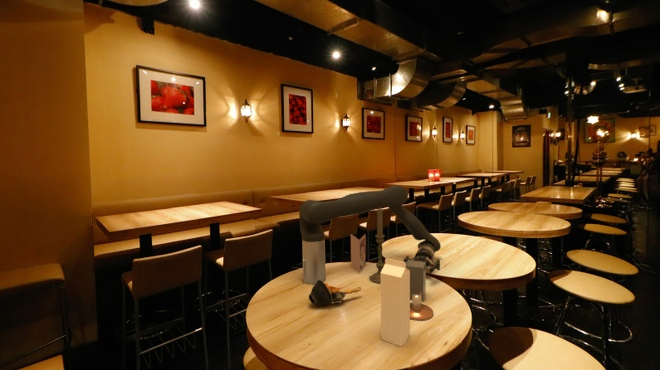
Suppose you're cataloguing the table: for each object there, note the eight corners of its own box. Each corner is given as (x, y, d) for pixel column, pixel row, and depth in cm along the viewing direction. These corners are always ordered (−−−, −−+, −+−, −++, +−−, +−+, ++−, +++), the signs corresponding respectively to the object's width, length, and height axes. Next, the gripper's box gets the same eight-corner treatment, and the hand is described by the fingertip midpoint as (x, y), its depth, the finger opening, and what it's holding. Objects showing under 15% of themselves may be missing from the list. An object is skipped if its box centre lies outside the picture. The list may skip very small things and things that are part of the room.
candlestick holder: (394, 277, 125) (394, 206, 122) (386, 285, 117) (386, 210, 115) (374, 273, 130) (374, 205, 127) (365, 281, 122) (364, 208, 120)
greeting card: (361, 273, 130) (361, 240, 129) (345, 272, 132) (344, 238, 131) (367, 265, 141) (367, 233, 139) (352, 263, 143) (351, 232, 142)
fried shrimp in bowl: (301, 288, 105) (341, 263, 114) (316, 317, 104) (355, 289, 112) (309, 288, 97) (351, 261, 106) (325, 320, 96) (367, 289, 104)
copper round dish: (407, 321, 91) (407, 303, 90) (396, 306, 101) (396, 289, 100) (438, 319, 92) (439, 301, 91) (425, 303, 102) (425, 287, 101)
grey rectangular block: (404, 298, 106) (404, 265, 105) (407, 291, 112) (407, 260, 111) (423, 301, 103) (423, 267, 102) (425, 294, 109) (425, 262, 108)
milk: (390, 329, 87) (389, 255, 85) (410, 336, 83) (410, 259, 82) (380, 339, 82) (379, 261, 80) (401, 347, 78) (401, 265, 77)
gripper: (408, 246, 134) (401, 257, 119) (442, 249, 128) (438, 261, 113) (408, 262, 135) (401, 275, 120) (441, 266, 129) (438, 280, 114)
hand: (419, 268), depth 117 cm, fingers open, 8 cm apart
